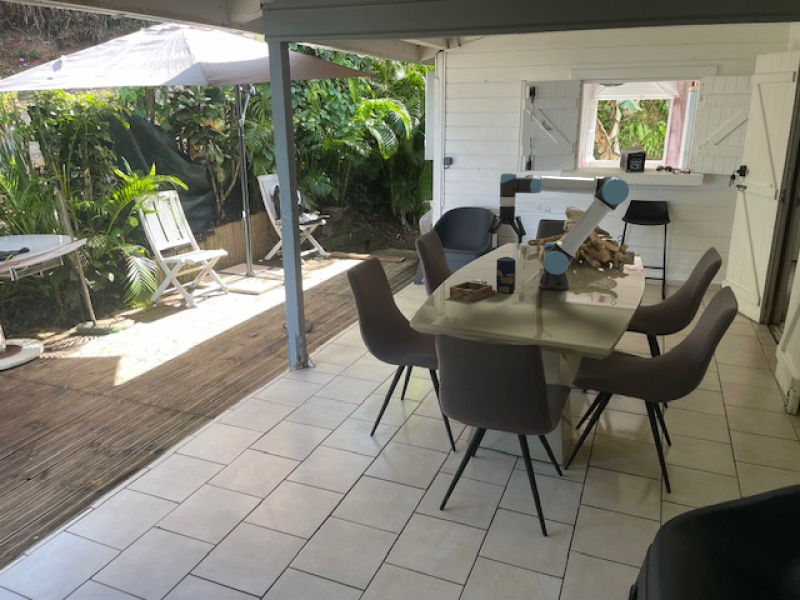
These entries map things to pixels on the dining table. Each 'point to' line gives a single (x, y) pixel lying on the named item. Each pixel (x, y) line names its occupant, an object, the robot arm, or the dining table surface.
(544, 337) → the dining table surface
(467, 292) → the wooden tray
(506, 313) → the dining table surface
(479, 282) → the button
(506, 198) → the robot arm
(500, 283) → the canister
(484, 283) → the button console
